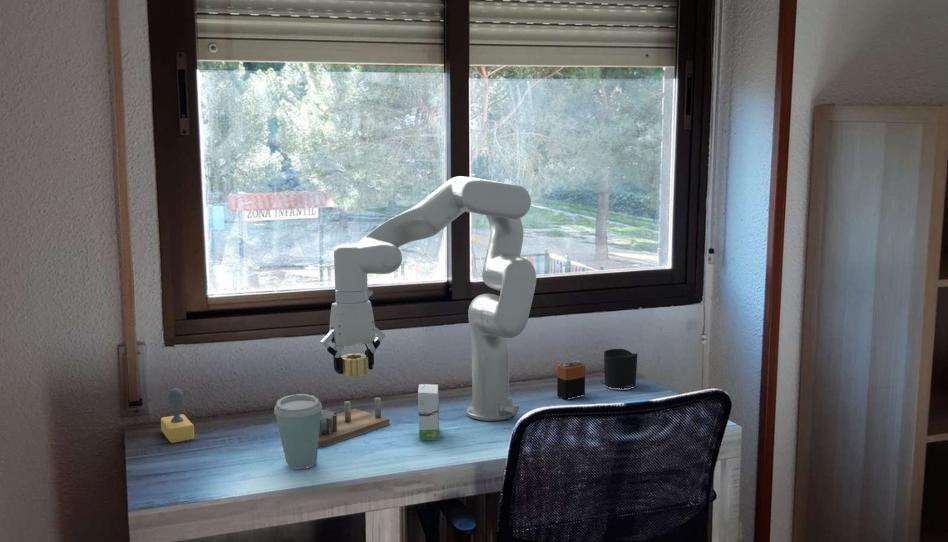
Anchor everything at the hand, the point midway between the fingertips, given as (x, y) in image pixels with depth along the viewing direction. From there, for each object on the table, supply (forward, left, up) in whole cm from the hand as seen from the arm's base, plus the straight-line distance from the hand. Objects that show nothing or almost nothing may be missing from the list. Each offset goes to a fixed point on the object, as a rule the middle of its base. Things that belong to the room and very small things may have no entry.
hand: (354, 370), depth 223 cm
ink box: (-10, -14, -18) cm, 25 cm away
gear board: (+9, -2, -18) cm, 20 cm away
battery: (-18, -62, -18) cm, 67 cm away
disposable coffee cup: (-2, +19, -18) cm, 26 cm away
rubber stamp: (+37, +26, -18) cm, 48 cm away
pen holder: (-23, -79, -18) cm, 85 cm away
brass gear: (0, 0, -1) cm, 1 cm away
